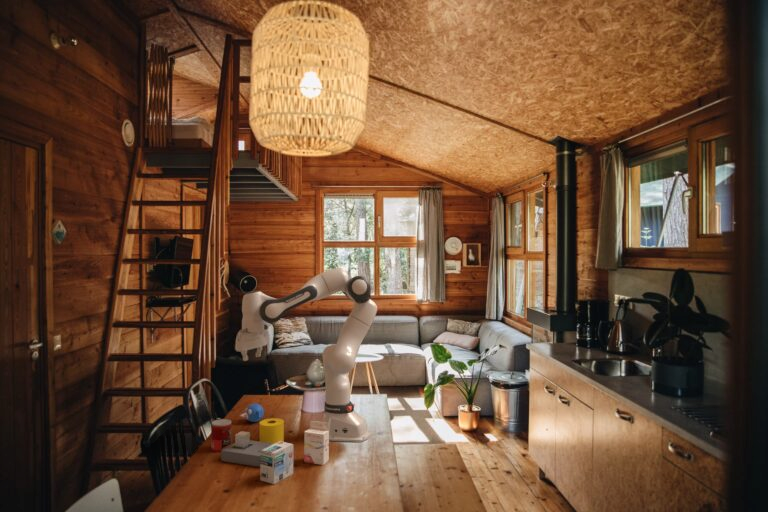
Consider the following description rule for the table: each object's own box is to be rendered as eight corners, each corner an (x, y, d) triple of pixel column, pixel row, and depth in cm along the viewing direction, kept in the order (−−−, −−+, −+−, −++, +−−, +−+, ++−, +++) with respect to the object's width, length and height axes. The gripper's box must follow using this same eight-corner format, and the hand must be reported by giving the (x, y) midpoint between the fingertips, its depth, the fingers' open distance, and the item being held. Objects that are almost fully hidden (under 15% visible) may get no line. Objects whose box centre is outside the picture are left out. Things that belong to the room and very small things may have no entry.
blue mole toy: (234, 422, 234) (234, 404, 234) (256, 416, 242) (256, 399, 242) (245, 428, 225) (245, 409, 225) (268, 422, 233) (268, 405, 233)
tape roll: (272, 438, 211) (272, 416, 212) (288, 443, 206) (288, 421, 206) (254, 445, 203) (254, 422, 203) (270, 450, 197) (270, 427, 198)
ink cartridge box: (303, 462, 186) (303, 423, 186) (309, 457, 190) (309, 419, 191) (323, 465, 183) (323, 426, 183) (329, 460, 187) (329, 422, 188)
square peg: (249, 455, 193) (249, 432, 193) (243, 458, 189) (244, 435, 189) (241, 453, 194) (241, 431, 194) (235, 457, 190) (235, 434, 190)
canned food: (225, 453, 195) (225, 425, 195) (207, 451, 197) (207, 424, 197) (234, 446, 202) (235, 419, 203) (217, 444, 204) (217, 418, 204)
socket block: (284, 455, 193) (284, 444, 193) (266, 467, 180) (266, 457, 181) (241, 448, 199) (241, 439, 199) (221, 460, 187) (221, 450, 187)
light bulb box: (273, 485, 166) (274, 453, 167) (259, 480, 170) (259, 449, 170) (294, 473, 176) (294, 443, 176) (280, 469, 179) (280, 440, 179)
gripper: (244, 330, 205) (244, 363, 204) (270, 325, 224) (270, 355, 224) (231, 329, 207) (231, 362, 206) (258, 324, 226) (258, 354, 226)
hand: (251, 358), depth 215 cm, fingers open, 8 cm apart
